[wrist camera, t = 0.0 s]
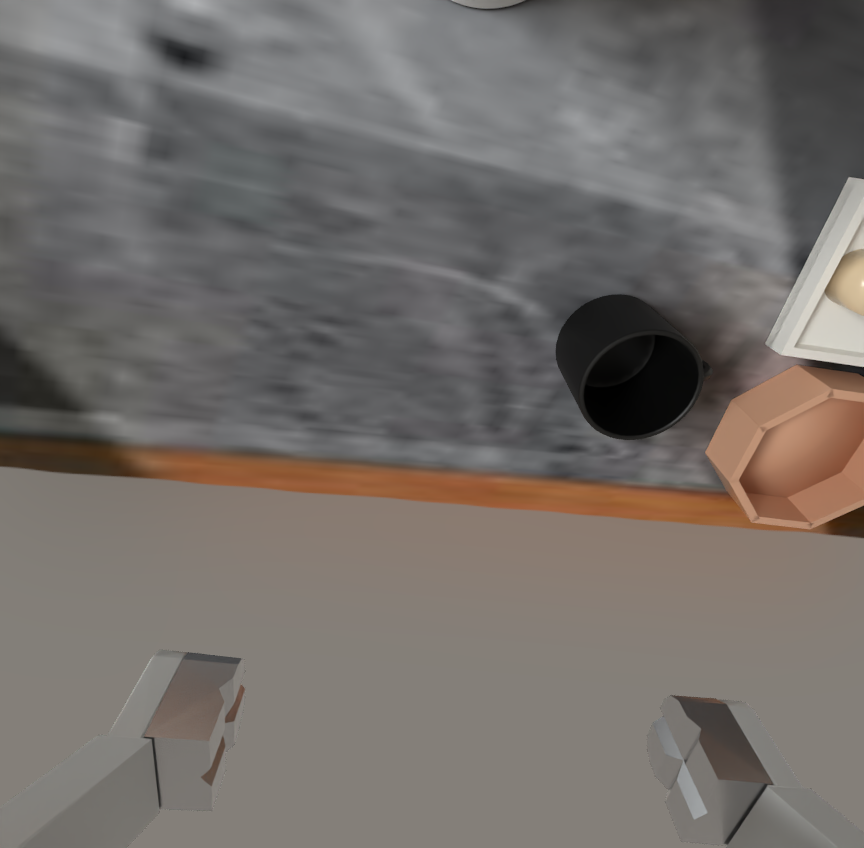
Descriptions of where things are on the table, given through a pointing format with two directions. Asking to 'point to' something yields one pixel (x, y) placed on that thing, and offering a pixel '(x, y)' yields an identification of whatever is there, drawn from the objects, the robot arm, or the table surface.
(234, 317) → the table surface
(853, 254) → the sand pebble
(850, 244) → the tray
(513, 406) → the table surface
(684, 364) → the mug
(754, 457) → the bowl
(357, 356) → the table surface
